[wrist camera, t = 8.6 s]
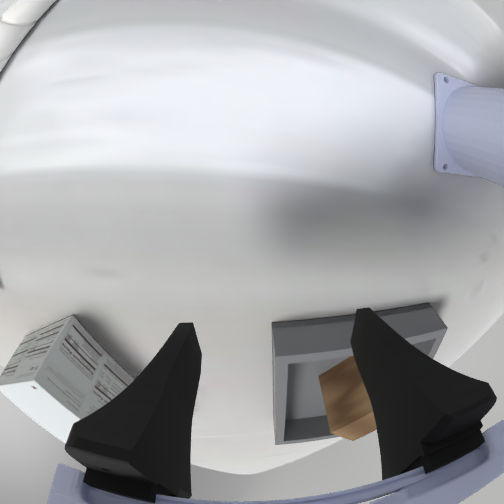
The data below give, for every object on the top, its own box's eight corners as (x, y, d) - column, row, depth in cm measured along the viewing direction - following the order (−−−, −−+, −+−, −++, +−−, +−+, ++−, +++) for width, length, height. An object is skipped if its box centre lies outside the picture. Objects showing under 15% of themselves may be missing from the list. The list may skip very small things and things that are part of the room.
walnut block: (354, 353, 25) (374, 410, 19) (372, 369, 26) (392, 420, 20) (318, 376, 26) (330, 432, 20) (339, 389, 28) (353, 440, 22)
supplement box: (24, 335, 26) (-8, 385, 18) (74, 311, 24) (32, 379, 15) (103, 411, 33) (87, 460, 25) (166, 405, 31) (154, 467, 22)
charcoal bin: (428, 302, 23) (447, 328, 20) (385, 401, 32) (393, 423, 28) (271, 322, 24) (275, 356, 20) (273, 419, 32) (275, 444, 28)
